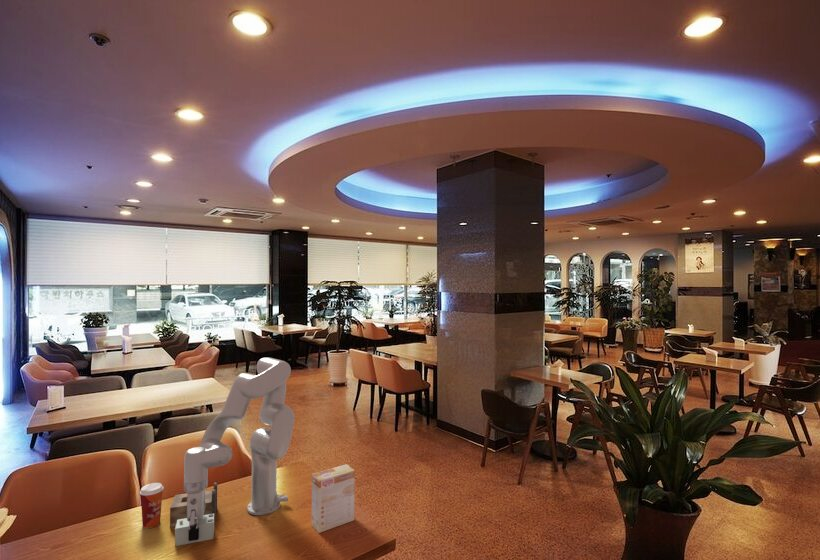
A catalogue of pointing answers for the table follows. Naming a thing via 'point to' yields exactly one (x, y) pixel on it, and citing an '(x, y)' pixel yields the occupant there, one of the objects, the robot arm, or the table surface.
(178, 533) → the white block with knobs
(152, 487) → the paper cup
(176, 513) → the brown boxy piece
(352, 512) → the coffeecake box
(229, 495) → the table surface
